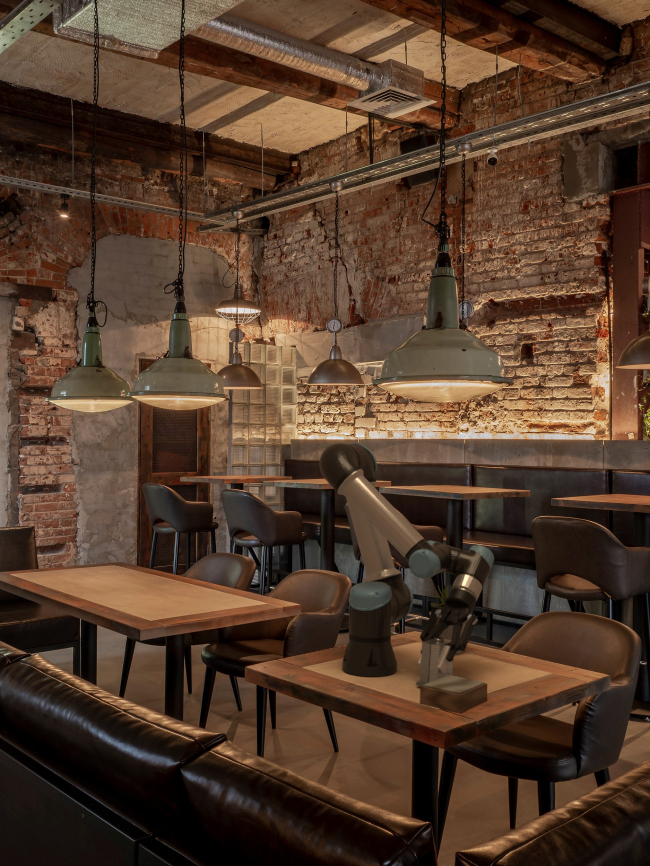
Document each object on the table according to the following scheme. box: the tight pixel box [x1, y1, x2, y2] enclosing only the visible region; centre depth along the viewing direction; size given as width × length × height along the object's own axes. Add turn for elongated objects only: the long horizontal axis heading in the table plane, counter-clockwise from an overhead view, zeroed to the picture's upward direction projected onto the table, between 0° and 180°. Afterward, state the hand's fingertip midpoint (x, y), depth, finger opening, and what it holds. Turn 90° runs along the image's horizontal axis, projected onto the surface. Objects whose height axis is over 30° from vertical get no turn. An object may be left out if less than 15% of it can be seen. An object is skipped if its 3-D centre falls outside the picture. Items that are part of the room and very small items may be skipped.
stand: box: [419, 674, 488, 714], centre depth 193 cm, size 11×13×4 cm
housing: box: [415, 637, 454, 687], centre depth 206 cm, size 6×9×12 cm
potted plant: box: [429, 585, 467, 656], centre depth 244 cm, size 13×14×20 cm
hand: (430, 668), depth 203 cm, fingers closed on housing, 5 cm apart
